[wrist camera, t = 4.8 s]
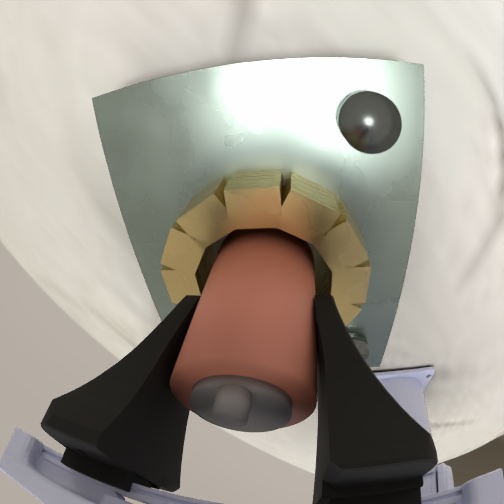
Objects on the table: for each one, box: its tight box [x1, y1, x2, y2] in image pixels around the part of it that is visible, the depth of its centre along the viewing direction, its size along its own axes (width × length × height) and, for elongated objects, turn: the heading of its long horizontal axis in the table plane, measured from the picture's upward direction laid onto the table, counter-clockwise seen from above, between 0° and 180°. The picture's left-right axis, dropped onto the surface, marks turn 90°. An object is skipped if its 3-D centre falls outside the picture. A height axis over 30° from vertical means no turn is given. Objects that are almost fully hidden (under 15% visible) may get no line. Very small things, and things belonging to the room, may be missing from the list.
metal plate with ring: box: [92, 58, 424, 367], centre depth 15 cm, size 18×14×5 cm
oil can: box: [170, 228, 317, 432], centre depth 11 cm, size 4×4×8 cm
